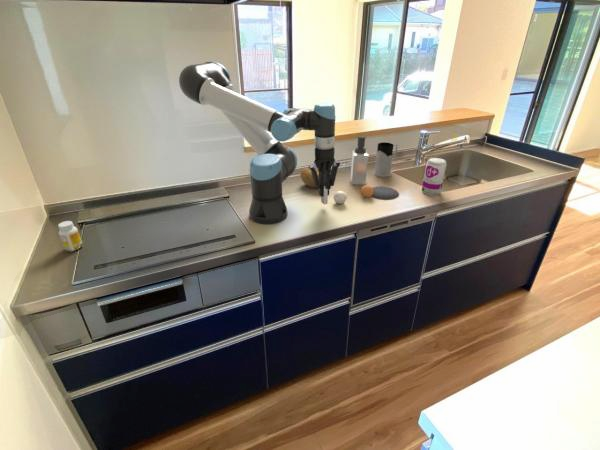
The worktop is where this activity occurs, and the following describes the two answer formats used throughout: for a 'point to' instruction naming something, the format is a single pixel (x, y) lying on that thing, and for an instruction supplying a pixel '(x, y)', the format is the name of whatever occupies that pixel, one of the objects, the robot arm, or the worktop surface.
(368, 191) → the object ball
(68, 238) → the supplement bottle
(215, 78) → the robot arm
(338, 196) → the cue ball
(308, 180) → the potato
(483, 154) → the worktop surface
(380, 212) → the worktop surface
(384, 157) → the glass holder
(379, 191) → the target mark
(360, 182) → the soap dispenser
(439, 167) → the supplement can
